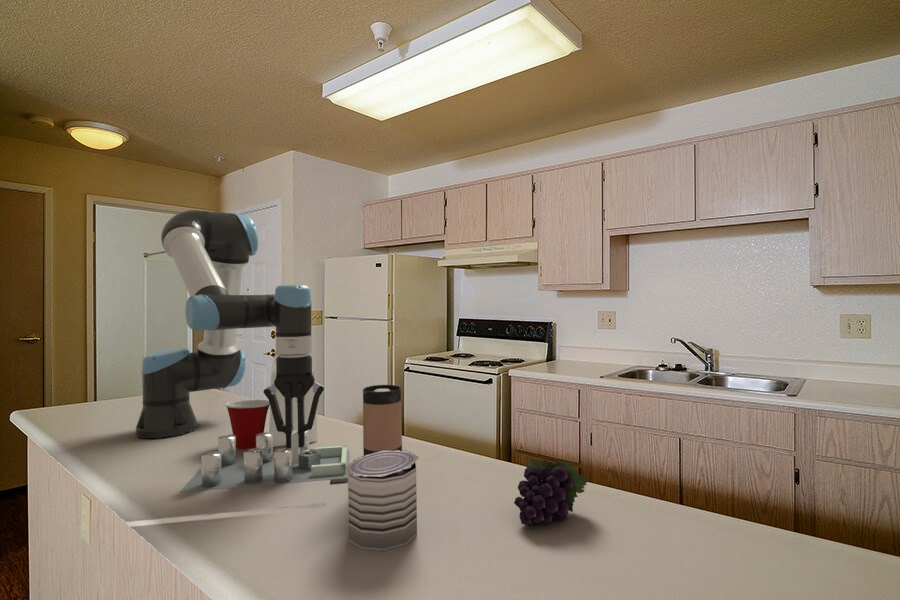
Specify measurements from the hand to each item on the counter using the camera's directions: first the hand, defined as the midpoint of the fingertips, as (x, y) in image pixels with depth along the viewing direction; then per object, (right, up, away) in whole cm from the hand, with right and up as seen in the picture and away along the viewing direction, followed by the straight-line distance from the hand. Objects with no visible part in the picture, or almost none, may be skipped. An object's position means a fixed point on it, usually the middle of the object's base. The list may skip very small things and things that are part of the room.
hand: (295, 461), depth 105 cm
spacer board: (-5, -2, -1) cm, 5 cm away
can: (+23, -2, -28) cm, 36 cm away
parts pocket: (+7, -2, +2) cm, 8 cm away
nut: (+3, -1, +1) cm, 3 cm away
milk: (-8, -2, +22) cm, 24 cm away
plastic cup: (-17, -2, +16) cm, 24 cm away
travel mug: (+21, -2, -10) cm, 23 cm away
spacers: (-7, -2, -1) cm, 8 cm away
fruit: (+51, -2, -23) cm, 56 cm away
